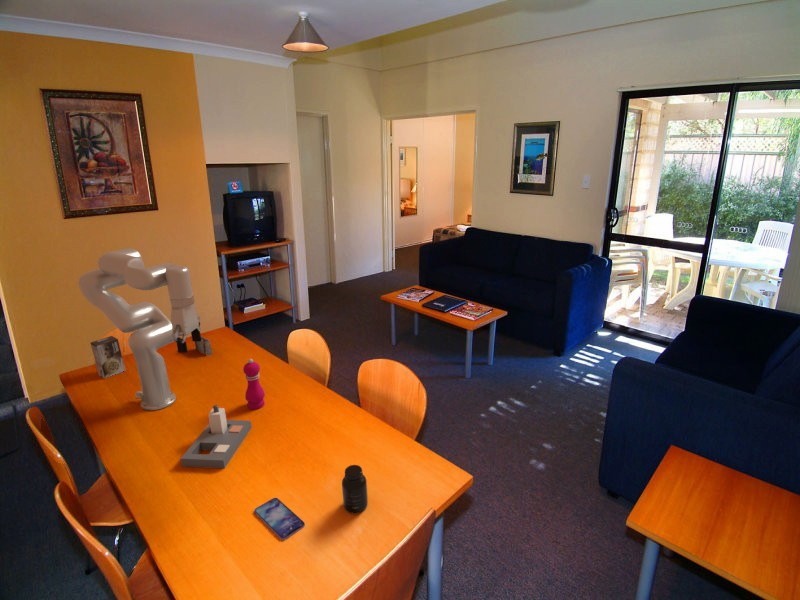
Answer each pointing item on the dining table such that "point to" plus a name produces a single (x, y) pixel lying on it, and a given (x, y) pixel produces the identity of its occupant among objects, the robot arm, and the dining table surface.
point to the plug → (217, 420)
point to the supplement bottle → (354, 490)
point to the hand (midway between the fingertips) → (190, 346)
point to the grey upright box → (204, 346)
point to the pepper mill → (253, 385)
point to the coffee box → (108, 356)
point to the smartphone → (279, 518)
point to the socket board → (216, 446)
